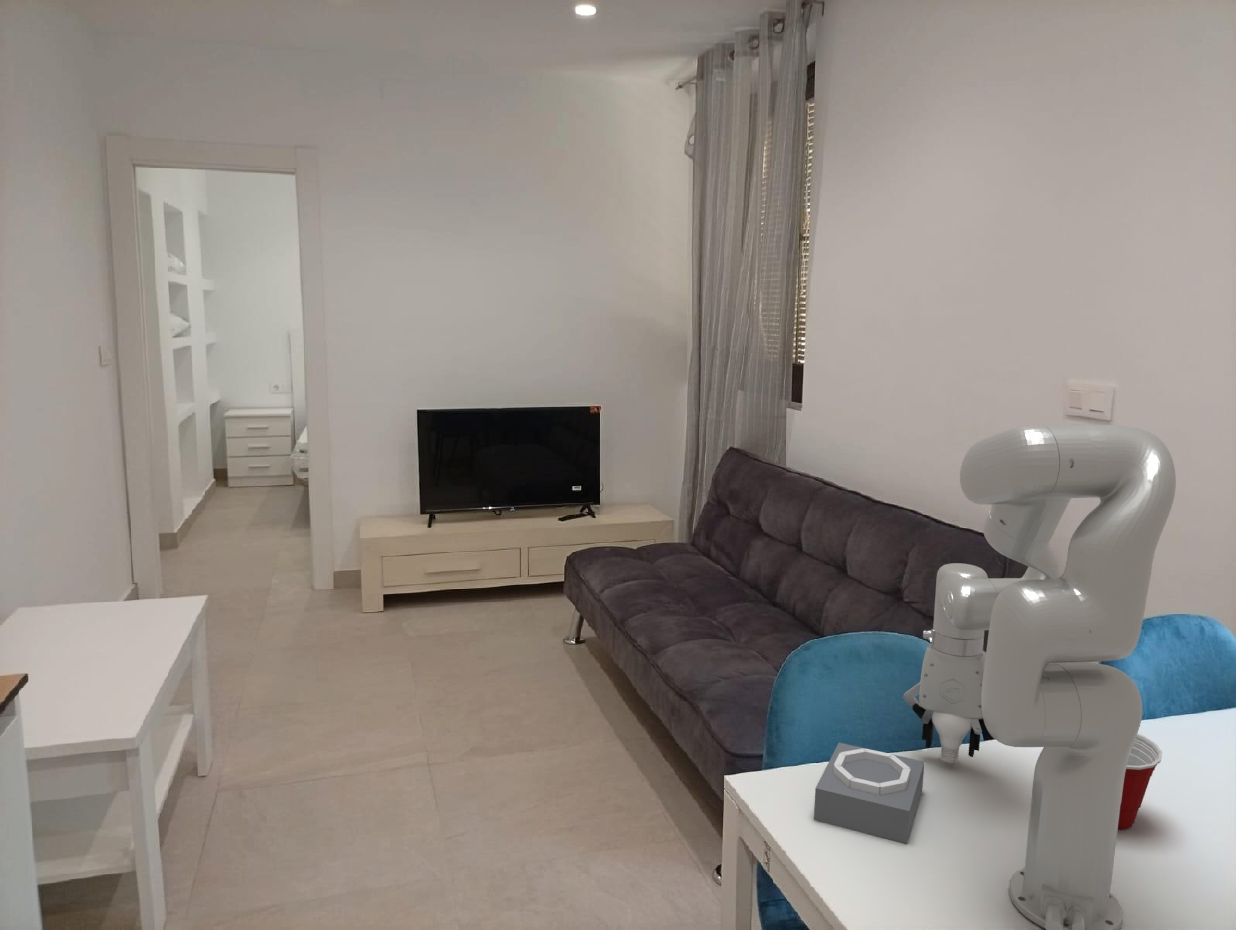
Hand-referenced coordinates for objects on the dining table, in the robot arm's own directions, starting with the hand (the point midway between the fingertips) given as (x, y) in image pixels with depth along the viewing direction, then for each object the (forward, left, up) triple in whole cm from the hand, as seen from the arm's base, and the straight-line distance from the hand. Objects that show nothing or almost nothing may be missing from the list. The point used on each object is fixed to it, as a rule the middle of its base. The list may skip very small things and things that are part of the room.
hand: (950, 747), depth 144 cm
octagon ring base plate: (-16, +9, -3) cm, 19 cm away
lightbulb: (0, 0, -3) cm, 3 cm away
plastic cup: (-6, -23, -3) cm, 24 cm away
